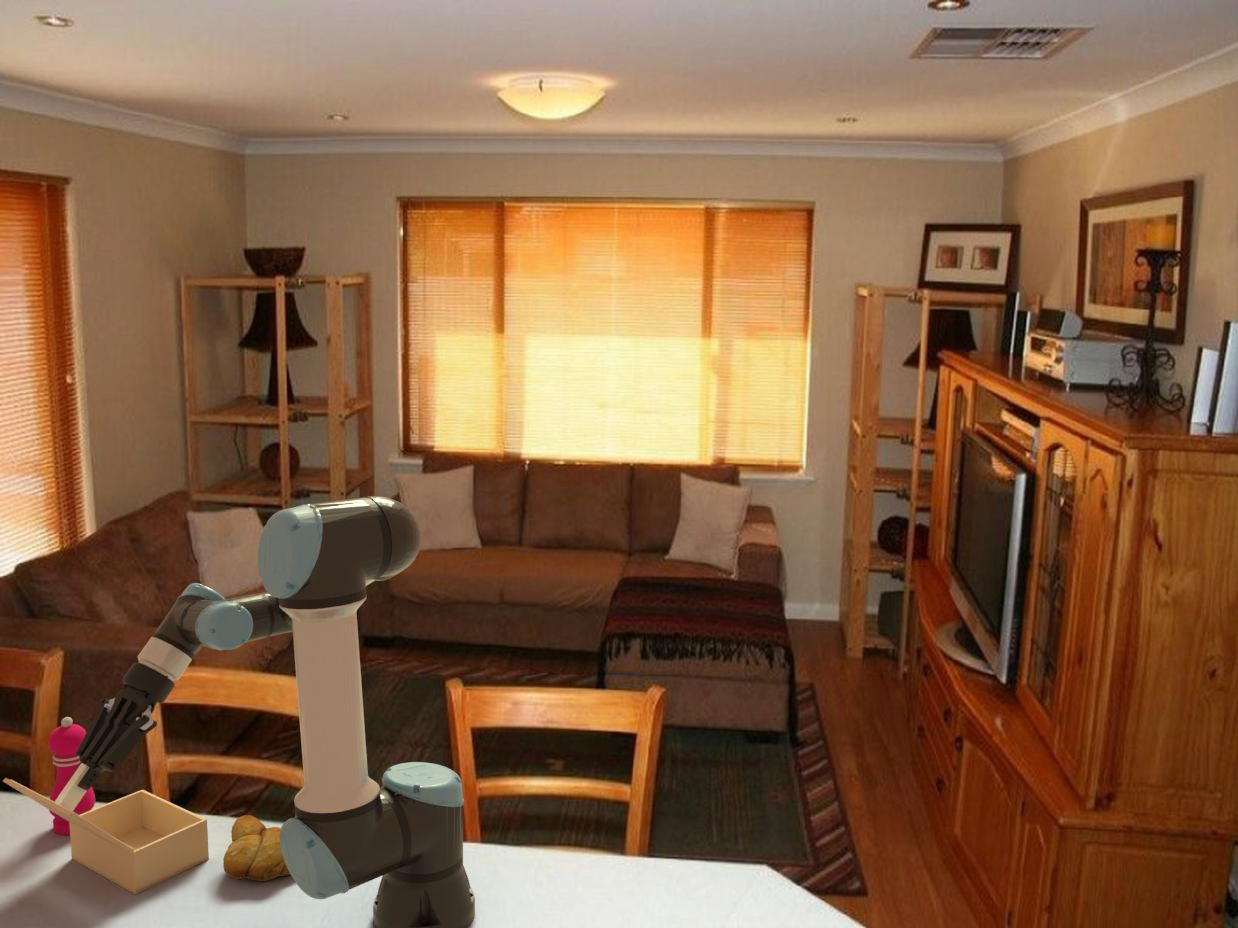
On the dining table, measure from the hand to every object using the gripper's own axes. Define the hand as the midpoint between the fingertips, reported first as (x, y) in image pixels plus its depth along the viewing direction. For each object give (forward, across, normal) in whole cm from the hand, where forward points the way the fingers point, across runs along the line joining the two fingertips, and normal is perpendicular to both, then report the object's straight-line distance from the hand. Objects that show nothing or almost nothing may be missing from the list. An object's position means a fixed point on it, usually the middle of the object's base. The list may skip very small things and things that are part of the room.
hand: (63, 806), depth 167 cm
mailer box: (+2, -1, -18) cm, 18 cm away
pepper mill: (+3, +18, -17) cm, 25 cm away
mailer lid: (0, -1, -1) cm, 1 cm away
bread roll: (-5, -20, -25) cm, 32 cm away
